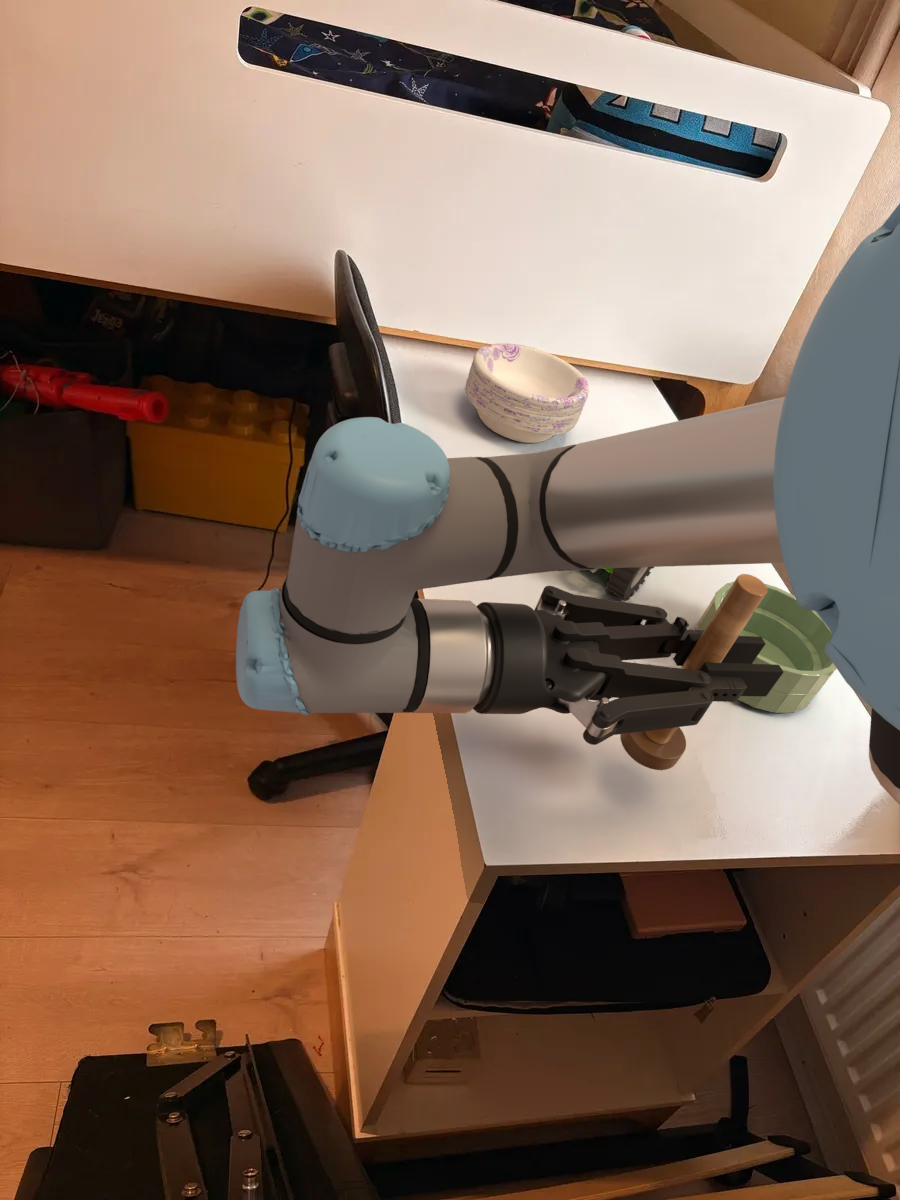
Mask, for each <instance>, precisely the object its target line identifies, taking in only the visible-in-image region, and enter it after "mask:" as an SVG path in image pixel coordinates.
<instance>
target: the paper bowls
mask: <svg viewBox="0 0 900 1200" xmlns="http://www.w3.org/2000/svg"><path fill="white" fill-rule="evenodd" d="M465 382H466V383H465V387H464V393H465V396H466V397H467V399H468V400H469V402H470V403H471V404H472V405H473V407H475V409H476V411H477V415H478V417H479V419H480V420H481V421H482V423H483V424H484V425H485V426H486V427H487V428H488V429H490V430H491V431H493V432H494V433H496V434H497V435H500V436H501V437H504V438H506V439H509V440H512V441H516V442H518V443H519V442H520V443H527V444H537V443H542V442H545V441H548V440H550V439H551V438H552V437H553V436H554V435H559V434H564V433H568V432H570V431H572V430H573V429H574V428H575V427H576V425H577V424H578V421H579V419H580V417H581V414H582V413H583V409H584V407H585V405H586V402H587V400H588V398H589V394H590V385H589V382H588V379H586V377H585V376H584V375H583V374H582V373H581V372H580V371H579V370H578V369H577V368H576V367H575V366H573V365H572V364H570V363H569V362H567V361H566V360H564V359H562V358H560V357H558V356H557V355H554V354H552V353H550V352H547V351H544V350H541V349H538V348H535V347H531V346H527V345H523V344H517V343H505V342H502V343H501V342H499V343H491V344H487V345H484V346H482V347H479V349H477V350H476V352H475V353H474V355H473V358H472V362H471V365H470V368H469V372H468V374H467V379H466V381H465Z"/></svg>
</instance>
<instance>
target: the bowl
mask: <svg viewBox="0 0 900 1200" xmlns="http://www.w3.org/2000/svg"><path fill="white" fill-rule="evenodd" d="M734 582H735V581H732V582H727V583H725V584H723V586H721V587H720V588H719V589H718V590H717V591H716V592H715V594H714V596H713V598H712V599H711V601H710V602H709V604H708V606H706V609H705V611H704V612H703V614H702V616H701V617H700V619H699V621H698V622H697V623H696V626H695V627H694V629H693V630H701V631H702V630H705V628H706V627H707V625H708V624H709V622H710V620H711V619H712V617H713V616H714V614H715V612H716V611H717V609H718V607H719V606H720V604H721V603H722V601H723V599H724V598H725V596H726V595H727V593H728V591H729V590H730V588H731V587H732V585H733V583H734ZM764 584H765V585H766V587H767V594H766V595H765V597H764V598H763V600H762V601H761V603H760V604H759V606H758V607H757V609H756V610H755V612H754V613H753V615H752V616H751V618H750V619H749V621H748V623H747V624H746V626H745V627H744V629H743V630H742V632H741V633H740V635H739V636H754V637H762V639H763V640H764V642H765V646H764V647H763V649H762V650H761V651H760V653H759V654H758V656H757V657H756V659H755V660H754V661H753V663H752V664H772V665H779V666H780V667H781V669H782V670H783V672H784V673H783V674H782V675H781V677H780V678H779V679H778V681H777V682H776V683H775V685H774V686H773V688H772V689H771V690H770V692H769V693H768V694H767V696H766V697H764V696H740V698H739V699H738V700H737V701H740V702H742V703H744V704H746V705H748V706H749V707H752V708H755V709H759V710H762V711H766V712H769V713H774V714H786V713H787V714H792V713H795V712H798V711H800V710H804V709H806V708H807V707H808V705H810V703H811V702H812V701H813V700H814V699H815V697H816V696H817V694H818V693H819V692H820V691H821V689H822V688H823V687H824V685H825V684H826V683H827V682H828V680H829V679H830V678H831V677H832V675H833V674H834V672H836V671H837V670H838V669H837V668H836V666H835V665H834V664H833V662H832V661H831V659H830V658H829V657H828V655H827V654H826V653H825V645H826V644H827V642H829V641H830V640H831V639H832V637H833V635H832V633H831V631H830V629H829V628H828V626H827V625H826V624H825V623H824V621H823V620H822V619H821V618H820V616H819V615H818V614H817V613H816V612H815V611H812V610H806V609H804V608H803V607H802V606H800V605H798V603H797V600H796V598H795V595H794V594H792V593H790V592H788V591H786V590H783V589H781V588H779V587H777V586H774V585H770V584H767V583H764Z"/></svg>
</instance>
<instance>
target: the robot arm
mask: <svg viewBox="0 0 900 1200" xmlns="http://www.w3.org/2000/svg"><path fill="white" fill-rule="evenodd" d="M294 526H295V527H294V533H293V539H292V545H291V551H290V553H291V554H290V560H289V566H288V572H287V574H286V577H285V579H284V582H283V584H282V586H281V588H277V587H273V588H272V589H270V590H253V591H251V592H249V593H247V594H246V595H245V596H244V598H243V600H242V604H241V606H240V609H239V615H238V622H237V632H236V646H235V649H236V650H235V673H236V674H235V675H236V677H235V678H236V686H237V691H238V694H239V697H240V699H241V701H242V703H244V704H245V705H246V706H247V707H249V708H251V709H254V710H259V711H260V710H261V711H272V712H283V713H284V712H285V713H297V714H301V715H303V716H309V715H310V714H384V713H385V714H387V713H388V714H401V713H402V714H403V713H404V714H407V713H408V714H409V713H411V714H467V713H470V712H471V711H472V710H474V711H475V713H478V714H481V715H523V714H527V713H530V712H532V711H534V710H538V709H543V708H544V709H548V710H551V711H554V712H556V713H558V714H563V715H565V714H571V715H573V716H574V717H575V719H576V720H578V722H579V723H580V724H581V725H583V727H584V728H585V729H584V731H583V733H582V738H583V740H584V741H585V742H586V743H587V744H589V745H592V746H597V745H599V744H600V743H602V742H604V741H605V740H607V739H609V738H611V737H613V736H617V735H620V734H626V733H634V732H642V731H650V730H659V729H667V728H675V727H680V728H683V727H692V726H696V725H698V724H699V722H700V721H701V720H702V718H703V717H704V716H705V714H706V712H707V711H708V709H709V708H710V707H711V705H712V704H713V702H722V703H723V702H725V703H726V702H730V703H731V702H732V703H733V702H737V701H739V700H738V699H739V698H740V696H764V697H766V696H767V694H768V693H769V692H770V690H771V689H772V688H773V686H774V685H775V683H776V682H777V681H778V679H779V678H780V677H781V675H782V674H783V673H784V672H783V670H782V669H781V667H780V666H779V665H772V664H752V663H753V661H754V660H755V659H756V657H757V656H758V654H759V653H760V651H761V650H762V649H763V647H764V646H765V642H764V640H763V639H762V637H754V636H738V638H737V639H736V641H735V642H734V644H733V645H732V647H731V648H730V650H729V651H728V653H727V654H726V656H725V657H724V659H723V660H722V662H721V663H710V662H704V664H703V665H702V667H701V668H700V670H699V671H698V670H690V669H681V667H682V665H683V664H684V662H685V660H686V659H687V657H688V656H689V654H690V652H691V651H692V649H693V648H694V646H695V644H696V643H697V641H698V640H699V638H700V636H701V635H702V633H703V632H704V630H702V631H701V630H694V629H688V628H689V626H690V624H689V621H687V619H685V618H684V617H681V616H676V618H675V619H674V621H673V623H671V622H670V621H668V619H667V618H668V612H667V610H665V609H664V608H662V607H659V606H653V605H647V604H640V603H633V602H627V601H621V600H613V599H607V598H599V597H593V596H588V595H579V594H574V593H571V592H569V591H566V590H563V589H561V588H558V587H555V586H553V585H545V586H544V587H543V590H542V592H541V594H540V597H539V599H538V600H537V603H536V605H535V607H534V608H533V607H531V606H529V605H527V604H524V603H511V602H510V603H508V602H492V601H491V602H490V601H489V602H488V601H482V602H480V603H478V604H477V605H476V604H475V603H474V602H473V601H471V600H461V599H438V598H414V596H415V594H416V592H417V591H419V590H425V589H431V588H440V587H446V586H454V585H460V584H461V585H462V584H467V583H474V582H482V581H489V580H493V579H497V578H506V577H507V578H508V577H515V576H516V577H517V576H524V575H533V574H540V573H548V572H549V573H550V572H567V571H571V572H572V571H591V570H595V569H597V570H599V569H603V568H630V567H654V568H656V567H657V568H659V567H661V568H663V567H690V566H692V567H694V566H724V565H725V566H726V565H730V566H731V565H756V564H758V565H759V564H760V565H761V564H763V565H764V564H783V566H784V569H785V572H786V575H787V577H788V580H789V584H790V586H791V589H792V592H793V595H794V596H795V598H796V600H797V603H798V605H800V606H802V607H803V608H804V609H806V610H812V611H815V612H816V613H817V614H818V615H819V616H820V618H821V619H822V620H823V621H824V623H825V624H826V625H827V626H828V628H829V629H830V631H831V633H832V635H833V637H832V639H831V640H830V641H829V642H827V644H826V645H825V653H826V654H827V655H828V657H829V658H830V659H831V661H832V662H833V664H834V665H835V666H836V668H837V669H836V670H837V671H838V672H839V674H840V675H841V677H842V678H843V680H844V681H845V683H846V684H847V685H848V686H849V687H850V688H851V689H852V690H853V691H854V692H855V693H856V694H857V696H859V697H860V698H861V699H862V700H863V701H864V702H865V703H866V704H867V705H868V706H869V707H870V708H871V714H870V727H869V742H868V759H869V764H870V768H871V771H872V772H873V775H874V777H875V778H876V780H877V781H878V783H879V785H880V786H881V787H882V788H883V789H884V790H885V791H886V792H887V793H888V794H889V795H890V797H892V799H893V800H894V801H895V802H896V803H897V804H899V805H900V202H899V203H898V205H896V207H895V208H894V210H893V211H892V212H891V214H889V216H888V217H887V218H886V220H885V222H884V223H883V224H882V225H881V226H880V227H878V228H877V229H876V230H875V231H874V232H871V233H870V234H868V235H867V236H865V238H864V239H863V240H862V241H861V242H860V243H859V244H858V245H857V247H856V249H855V250H854V251H853V252H852V254H851V255H850V256H849V257H848V259H847V261H846V262H845V263H844V265H843V267H842V268H841V270H840V272H839V273H838V274H837V276H836V277H835V279H834V280H833V282H832V284H831V286H830V287H829V289H828V291H827V293H826V295H825V296H824V297H823V299H822V301H821V303H820V305H819V307H818V309H817V311H816V313H815V315H814V316H813V319H812V321H811V323H810V325H809V328H808V329H807V332H806V334H805V336H804V339H803V341H802V344H801V346H800V348H799V351H798V354H797V356H796V359H795V361H794V364H793V368H792V371H791V374H790V377H789V381H788V384H787V388H786V392H785V395H784V396H782V397H778V398H773V399H768V400H764V401H759V402H756V403H751V404H746V405H742V406H738V407H734V408H729V409H725V410H720V411H716V412H711V413H707V414H703V415H699V416H695V417H690V418H685V419H681V420H676V421H672V422H668V423H663V424H658V425H655V426H650V427H646V428H641V429H637V430H632V431H628V432H624V433H619V434H615V435H610V436H605V437H601V438H598V439H594V440H592V439H591V440H588V441H584V442H579V443H575V444H570V445H565V446H561V447H557V448H551V449H548V450H543V451H537V452H536V451H535V452H529V453H519V454H517V453H516V454H508V455H507V454H506V455H496V456H495V455H494V456H484V457H483V456H465V457H462V456H461V457H447V455H446V453H445V451H444V450H443V448H441V446H440V445H439V444H438V443H437V442H436V441H435V440H434V439H433V438H431V437H430V436H429V435H428V434H427V433H425V432H422V431H421V430H419V429H418V428H416V427H414V426H411V425H409V424H406V423H403V422H397V423H391V422H387V421H386V420H384V419H382V418H380V417H375V416H362V417H361V416H360V417H353V418H349V419H345V420H343V421H340V422H338V423H336V424H334V425H332V426H330V427H329V428H328V429H327V430H326V431H325V432H323V434H322V435H321V436H320V437H319V438H318V441H317V442H316V444H315V447H314V449H313V452H312V455H311V458H310V460H309V462H308V466H307V468H306V473H305V477H304V479H303V482H302V486H301V489H300V493H299V495H298V502H297V510H296V520H295V525H294ZM643 621H645V622H644V624H642V622H643ZM673 654H675V655H674V657H673V662H674V664H675V665H676V667H673V666H663V665H654V664H648V663H639V662H631V661H636V660H652V659H666V658H670V657H671V656H672V655H673ZM614 698H615V699H614ZM611 699H612V700H611Z"/></svg>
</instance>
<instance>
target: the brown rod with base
mask: <svg viewBox="0 0 900 1200" xmlns="http://www.w3.org/2000/svg"><path fill="white" fill-rule="evenodd" d="M733 582H734V583H733V585H732V587H731V588H730V590H729V591H728V593H727V595H726V596H725V598H724V599H723V601H722V603H721V604H720V606H719V607H718V609H717V611H716V612H715V614H714V616H713V617H712V619H711V620H710V622H709V624H708V625H707V627H706V628H705V630H704V632H703V633H702V635H701V636H700V638H699V640H698V641H697V643H696V644H695V646H694V648H693V649H692V651H691V652H690V654H689V656H688V657H687V659H686V660H685V662H684V664H683V665H682V666H680V668H681V669H690V670H698V671H699V670H700V668H701V667H702V665H703V664H704V662H710V663H721V662H722V660H723V659H724V657H725V656H726V654H727V653H728V651H729V650H730V648H731V647H732V645H733V644H734V642H735V641H736V639H737V638H738V636H739V635H740V633H741V632H742V630H743V629H744V627H745V626H746V624H747V623H748V621H749V619H750V618H751V616H752V615H753V613H754V612H755V610H756V609H757V607H758V606H759V604H760V603H761V601H762V600H763V598H764V597H765V595H766V594H767V587H766V585H765V584H766V583H765V582H763V581H762V580H761V579H760V578H758V577H756V576H754V575H752V574H748V573H741V574H739V575H738V576H737V577H736V579H735V580H734V581H733ZM619 736H620V737H619V738H620V741H621V745H622V747H623V749H624V751H625V752H626V753H627V755H628V756H629V757H630V758H631V759H632V760H633V761H635V762H636V763H638V765H641V766H642V767H645V768H647V769H651V770H654V771H666V770H670V769H671V768H674V767H675V766H676V764H678V762H679V760H680V759H681V757H683V755H684V753H685V751H686V749H687V740H686V736H685V734H684V731H683V730H682V728H681V727H675V728H667V729H659V730H650V731H642V732H634V733H626V734H619Z"/></svg>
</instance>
